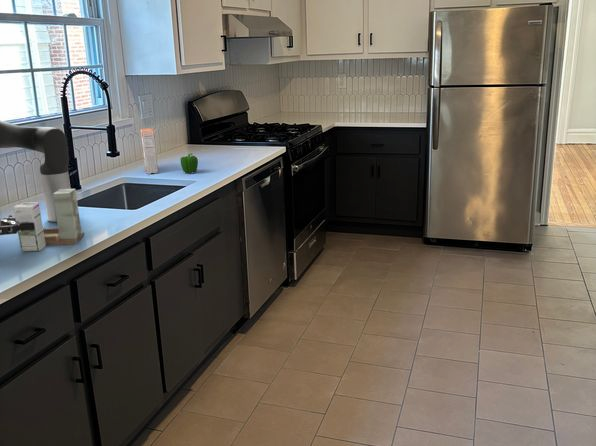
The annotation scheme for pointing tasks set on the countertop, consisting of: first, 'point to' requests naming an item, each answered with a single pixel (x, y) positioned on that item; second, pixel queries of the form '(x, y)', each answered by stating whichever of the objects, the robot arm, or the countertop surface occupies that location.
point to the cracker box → (149, 150)
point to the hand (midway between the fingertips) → (37, 222)
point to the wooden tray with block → (65, 219)
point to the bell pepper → (189, 163)
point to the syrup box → (30, 238)
